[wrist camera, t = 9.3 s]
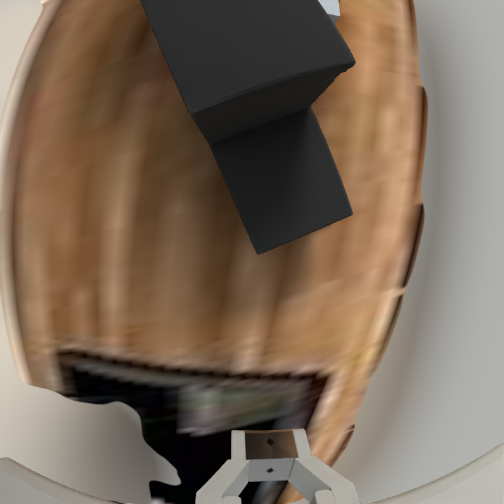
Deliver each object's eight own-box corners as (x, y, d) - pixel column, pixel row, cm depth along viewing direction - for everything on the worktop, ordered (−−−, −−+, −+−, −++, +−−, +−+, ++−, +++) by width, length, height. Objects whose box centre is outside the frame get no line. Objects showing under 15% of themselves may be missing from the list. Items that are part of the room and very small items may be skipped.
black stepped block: (336, 216, 34) (475, 262, 11) (255, 250, 35) (287, 362, 12) (263, 51, 29) (293, -88, 6) (182, 80, 30) (114, -46, 7)
